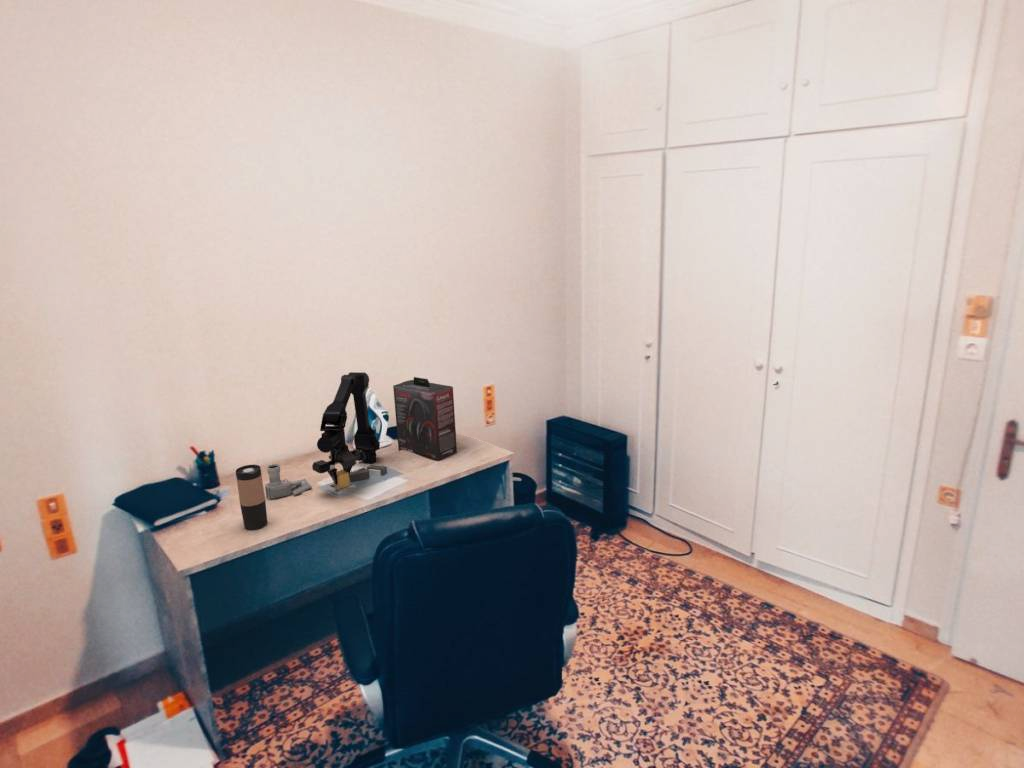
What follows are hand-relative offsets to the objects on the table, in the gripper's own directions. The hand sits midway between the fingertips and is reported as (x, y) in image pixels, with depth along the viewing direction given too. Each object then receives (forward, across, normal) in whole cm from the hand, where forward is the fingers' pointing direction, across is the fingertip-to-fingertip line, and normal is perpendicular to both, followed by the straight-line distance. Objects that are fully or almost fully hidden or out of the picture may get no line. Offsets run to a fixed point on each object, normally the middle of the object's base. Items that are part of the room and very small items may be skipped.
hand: (341, 482), depth 227 cm
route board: (+4, +9, +2) cm, 10 cm away
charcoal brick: (+3, +9, +3) cm, 10 cm away
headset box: (+4, +47, +9) cm, 48 cm away
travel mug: (+4, -33, -1) cm, 33 cm away
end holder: (+3, 0, 0) cm, 3 cm away
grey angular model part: (+4, -14, +15) cm, 21 cm away
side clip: (+4, +9, +4) cm, 11 cm away
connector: (+1, 0, 0) cm, 1 cm away
